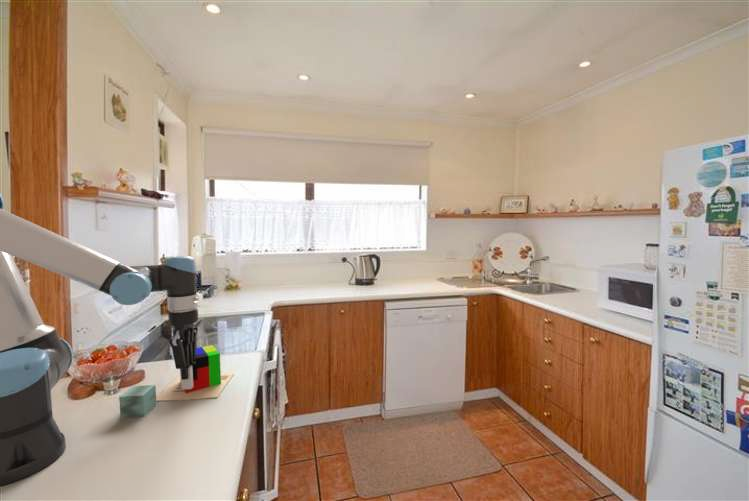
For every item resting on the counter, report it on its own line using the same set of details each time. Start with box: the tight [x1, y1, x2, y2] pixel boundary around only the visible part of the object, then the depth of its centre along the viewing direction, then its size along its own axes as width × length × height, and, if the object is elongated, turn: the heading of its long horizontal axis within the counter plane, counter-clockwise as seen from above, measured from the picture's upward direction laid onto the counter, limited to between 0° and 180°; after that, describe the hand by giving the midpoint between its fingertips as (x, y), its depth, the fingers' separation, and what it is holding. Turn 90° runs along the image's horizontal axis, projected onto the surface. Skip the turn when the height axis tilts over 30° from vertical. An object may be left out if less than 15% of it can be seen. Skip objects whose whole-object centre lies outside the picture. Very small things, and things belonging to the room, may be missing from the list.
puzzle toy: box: [179, 344, 222, 393], centre depth 109 cm, size 10×10×10 cm
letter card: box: [156, 373, 235, 402], centre depth 107 cm, size 18×16×1 cm
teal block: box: [118, 384, 157, 419], centre depth 93 cm, size 6×6×6 cm
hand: (187, 388), depth 100 cm, fingers closed
